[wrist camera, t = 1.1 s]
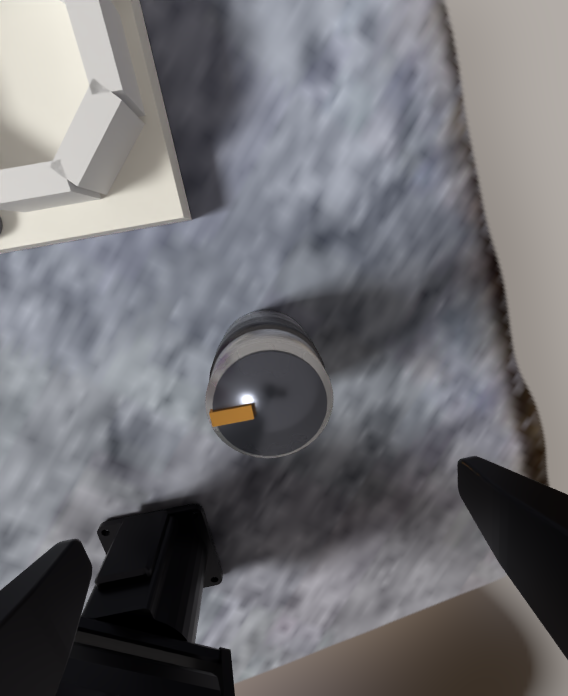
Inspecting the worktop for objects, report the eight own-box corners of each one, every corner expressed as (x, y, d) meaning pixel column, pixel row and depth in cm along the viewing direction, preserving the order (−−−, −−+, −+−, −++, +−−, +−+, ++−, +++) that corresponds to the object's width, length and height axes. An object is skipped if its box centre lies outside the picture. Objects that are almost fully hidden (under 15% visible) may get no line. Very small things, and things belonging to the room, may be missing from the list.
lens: (317, 387, 20) (345, 453, 14) (229, 404, 20) (218, 477, 14) (304, 300, 18) (329, 330, 12) (208, 317, 18) (185, 357, 12)
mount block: (191, 219, 17) (170, 213, 12) (-5, 254, 16) (-96, 260, 12) (120, -80, 13) (56, -231, 9) (-129, -42, 13) (-315, -178, 9)
